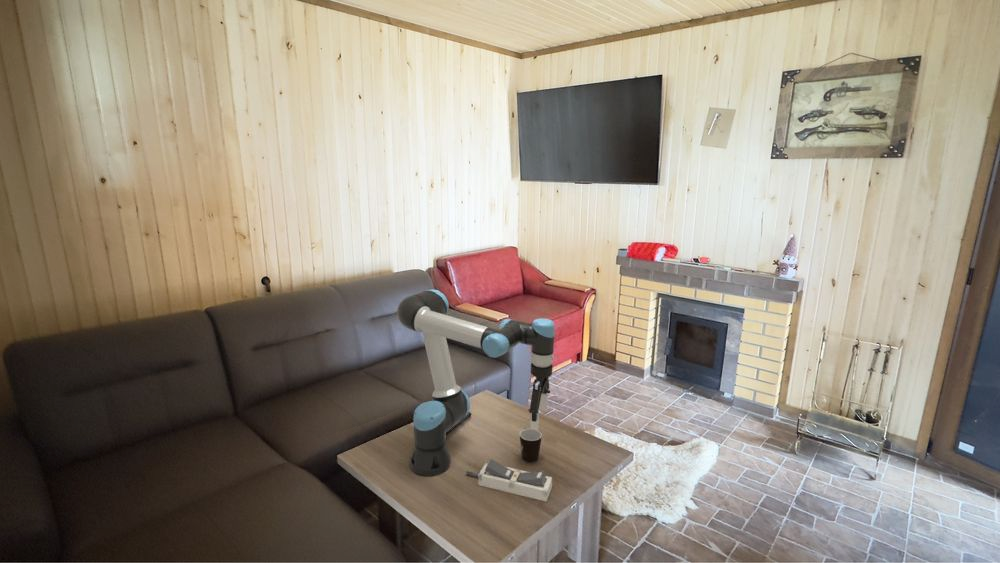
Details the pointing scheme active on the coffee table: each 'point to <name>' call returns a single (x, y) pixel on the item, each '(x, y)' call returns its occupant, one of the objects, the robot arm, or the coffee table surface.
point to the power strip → (514, 484)
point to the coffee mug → (530, 444)
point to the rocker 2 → (532, 478)
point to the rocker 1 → (498, 470)
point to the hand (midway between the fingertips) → (538, 418)
